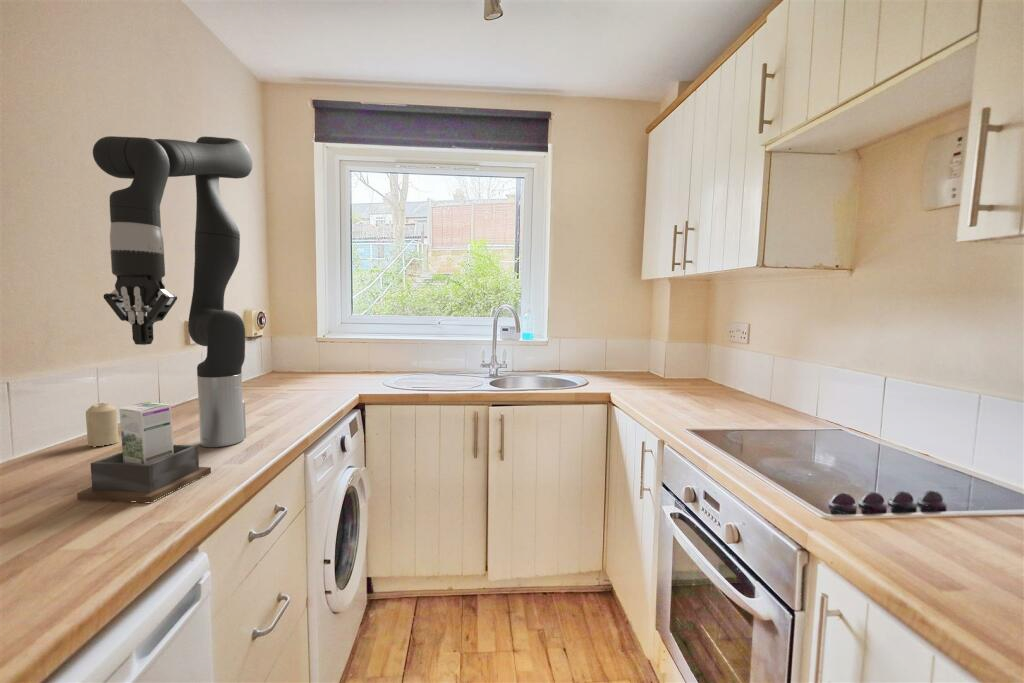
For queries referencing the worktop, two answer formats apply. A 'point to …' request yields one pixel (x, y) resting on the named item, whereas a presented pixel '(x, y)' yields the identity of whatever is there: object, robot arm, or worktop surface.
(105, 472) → the holder
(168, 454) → the syrup box
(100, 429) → the candle
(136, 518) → the worktop surface
